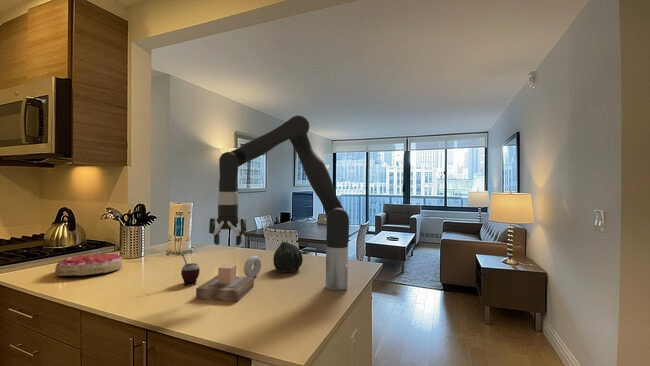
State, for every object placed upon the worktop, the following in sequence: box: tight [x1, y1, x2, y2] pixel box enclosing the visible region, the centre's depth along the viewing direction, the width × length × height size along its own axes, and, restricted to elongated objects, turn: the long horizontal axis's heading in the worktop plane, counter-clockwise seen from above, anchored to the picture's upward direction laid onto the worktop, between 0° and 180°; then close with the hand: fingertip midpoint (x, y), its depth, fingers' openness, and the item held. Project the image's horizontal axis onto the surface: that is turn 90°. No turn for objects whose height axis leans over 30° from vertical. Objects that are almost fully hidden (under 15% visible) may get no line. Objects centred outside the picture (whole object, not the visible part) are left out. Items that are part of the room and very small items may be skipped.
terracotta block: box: [217, 263, 237, 284], centre depth 115 cm, size 5×5×6 cm
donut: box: [243, 255, 262, 278], centre depth 135 cm, size 10×4×10 cm, turn 153°
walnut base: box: [195, 275, 255, 303], centre depth 115 cm, size 16×16×4 cm
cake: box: [54, 252, 123, 278], centre depth 139 cm, size 25×25×8 cm
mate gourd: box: [175, 249, 200, 287], centre depth 125 cm, size 8×8×15 cm
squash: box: [273, 241, 304, 273], centre depth 147 cm, size 14×15×15 cm
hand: (227, 244), depth 115 cm, fingers open, 8 cm apart
